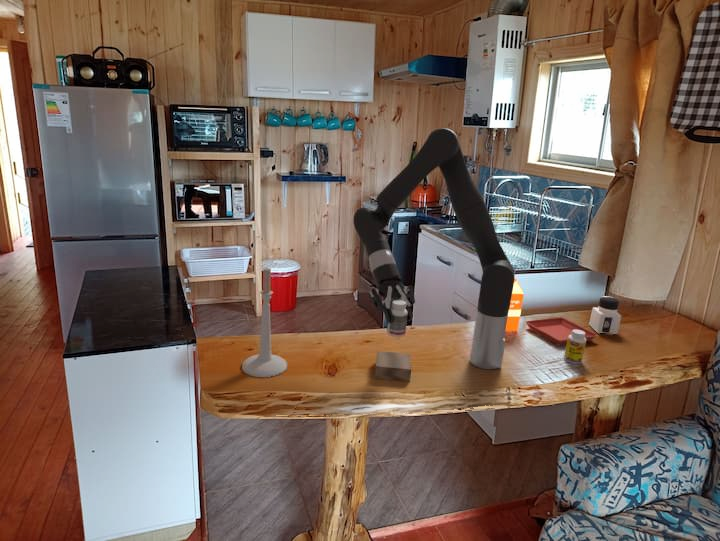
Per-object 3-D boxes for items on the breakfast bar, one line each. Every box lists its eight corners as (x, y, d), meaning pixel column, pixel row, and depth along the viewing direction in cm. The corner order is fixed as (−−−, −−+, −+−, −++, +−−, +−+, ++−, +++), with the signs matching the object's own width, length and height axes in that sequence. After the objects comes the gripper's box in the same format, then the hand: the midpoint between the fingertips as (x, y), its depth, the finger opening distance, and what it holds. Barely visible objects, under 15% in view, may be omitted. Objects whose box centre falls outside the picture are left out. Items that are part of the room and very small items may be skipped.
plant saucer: (523, 328, 197) (524, 320, 196) (560, 324, 204) (561, 316, 203) (557, 349, 181) (559, 340, 180) (596, 343, 188) (598, 335, 187)
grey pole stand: (287, 377, 148) (291, 275, 139) (240, 377, 146) (241, 274, 137) (286, 356, 160) (290, 261, 151) (243, 356, 158) (244, 260, 149)
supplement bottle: (564, 362, 170) (570, 333, 167) (563, 355, 176) (569, 327, 173) (582, 365, 169) (588, 336, 166) (581, 358, 174) (587, 330, 171)
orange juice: (498, 332, 191) (506, 279, 185) (487, 322, 199) (495, 271, 193) (517, 331, 193) (526, 279, 187) (506, 322, 201) (515, 272, 195)
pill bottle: (409, 335, 151) (412, 304, 148) (394, 339, 148) (397, 306, 145) (397, 328, 155) (401, 297, 152) (383, 331, 152) (386, 300, 150)
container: (617, 335, 197) (625, 302, 193) (596, 333, 196) (604, 300, 193) (608, 327, 204) (615, 295, 200) (588, 325, 204) (595, 293, 200)
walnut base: (408, 365, 160) (410, 353, 159) (409, 382, 150) (411, 369, 149) (375, 362, 160) (377, 350, 159) (374, 378, 151) (376, 366, 149)
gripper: (367, 263, 149) (384, 318, 143) (410, 260, 156) (428, 313, 149) (357, 276, 155) (373, 329, 149) (399, 272, 162) (416, 323, 155)
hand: (400, 321), depth 149 cm, fingers closed on pill bottle, 5 cm apart
